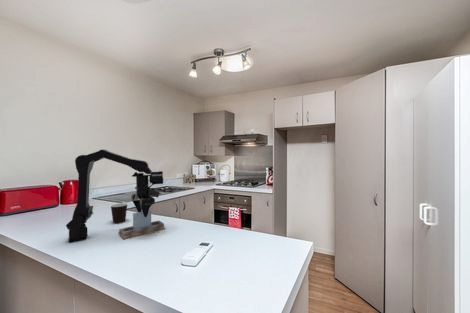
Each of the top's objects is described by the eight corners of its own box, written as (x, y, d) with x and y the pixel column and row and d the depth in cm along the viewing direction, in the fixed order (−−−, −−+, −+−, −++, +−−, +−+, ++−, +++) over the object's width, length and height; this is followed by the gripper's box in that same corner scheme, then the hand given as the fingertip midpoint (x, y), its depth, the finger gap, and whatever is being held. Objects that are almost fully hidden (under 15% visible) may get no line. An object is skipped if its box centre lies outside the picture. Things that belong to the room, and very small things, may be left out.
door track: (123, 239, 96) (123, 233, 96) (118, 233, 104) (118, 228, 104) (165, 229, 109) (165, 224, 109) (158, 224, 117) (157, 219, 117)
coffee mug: (122, 224, 118) (122, 206, 118) (107, 224, 118) (107, 206, 118) (132, 218, 130) (132, 202, 130) (119, 218, 130) (119, 202, 130)
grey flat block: (135, 232, 103) (134, 214, 103) (133, 230, 105) (133, 213, 105) (151, 228, 108) (151, 211, 108) (149, 227, 110) (149, 210, 110)
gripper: (164, 185, 105) (165, 215, 105) (151, 181, 119) (151, 208, 119) (142, 187, 97) (142, 220, 98) (130, 183, 111) (131, 212, 111)
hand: (142, 215), depth 107 cm, fingers open, 9 cm apart
